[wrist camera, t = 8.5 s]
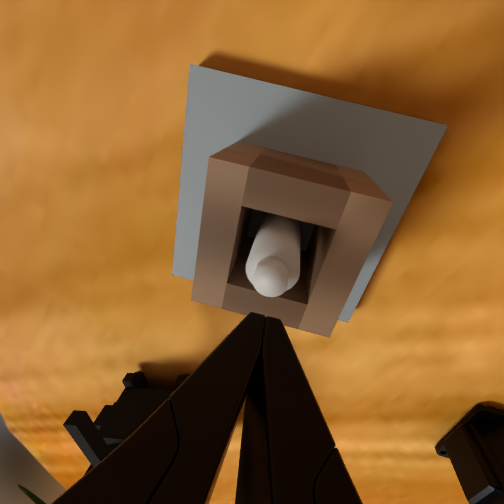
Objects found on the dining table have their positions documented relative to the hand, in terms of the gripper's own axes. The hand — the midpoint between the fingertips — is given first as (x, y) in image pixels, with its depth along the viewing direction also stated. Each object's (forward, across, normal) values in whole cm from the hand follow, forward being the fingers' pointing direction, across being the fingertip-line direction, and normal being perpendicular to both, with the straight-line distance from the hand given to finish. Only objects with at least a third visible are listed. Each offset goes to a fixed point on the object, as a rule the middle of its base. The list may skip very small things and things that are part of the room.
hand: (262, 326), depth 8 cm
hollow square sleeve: (+9, 0, 0) cm, 9 cm away
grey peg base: (+10, 0, 0) cm, 10 cm away
